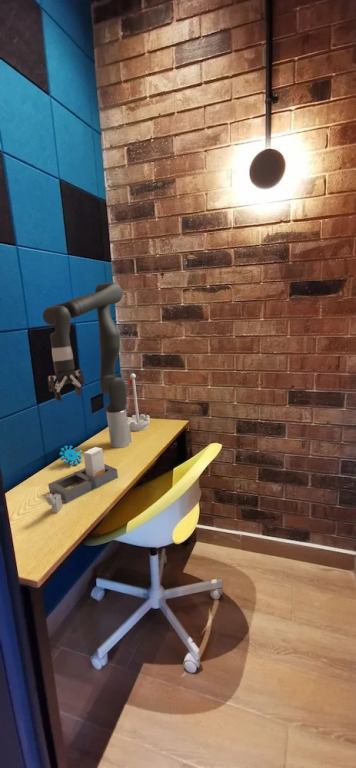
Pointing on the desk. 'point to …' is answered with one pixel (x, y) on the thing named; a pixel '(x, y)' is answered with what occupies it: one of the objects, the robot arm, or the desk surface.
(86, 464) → the skincare box
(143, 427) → the flag stand
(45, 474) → the desk surface
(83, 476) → the cinder block
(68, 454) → the blue virus model
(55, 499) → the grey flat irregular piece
